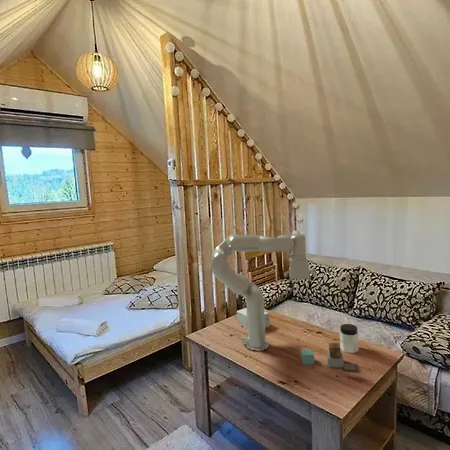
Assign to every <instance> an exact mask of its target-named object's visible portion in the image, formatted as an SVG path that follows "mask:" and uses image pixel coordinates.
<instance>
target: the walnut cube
mask: <svg viewBox="0 0 450 450" xmlns="http://www.w3.org/2000/svg"><path fill="white" fill-rule="evenodd" d="M328 350H329V351H328V352H330V358H341V352H342V349H341V348H340V342H328Z"/></svg>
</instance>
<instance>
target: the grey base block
mask: <svg viewBox="0 0 450 450" xmlns="http://www.w3.org/2000/svg"><path fill="white" fill-rule="evenodd" d="M326 352H327V353H326V355H327V366H328V368H342V367H344V363H345V362H344V356H343V355H344V354H343V351H341V358H330V352H329V351H326Z"/></svg>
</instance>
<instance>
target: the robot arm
mask: <svg viewBox="0 0 450 450" xmlns="http://www.w3.org/2000/svg"><path fill="white" fill-rule="evenodd" d="M306 243H307V242H306V236H305V235H304V234H302V233H301V234H300V233H299V234H298V233H297V234H296V233H295V234H281V235H278V236H277V237H270V236H264V235H261V234H251V235H250V234H241V235H239V234H238V233H231V234H230V235H228V236H227V238H225V239H224V240H223V241H222V242H221V243H219V245H218V246H217V247H215V248H214V249H213V251H212V254H211V262H210V263H211V265H210V268H211V272H212V274H213V276H214V277H215V278H216V279H217V280H218V281H220V282H221V283H222V284H223V285H224V286H225V287H227V288H228V289H229V290H230V291H232V292H233V293H234V294H235V295H237V296H238V295H239V296H242V297H243V298H244V299H245V304H246V308H247V325H248V330H247V336H246V337H244V336H241V337H240V341H241V342H242V343H245V347H246V346H247V347H248V348H249V349H251V350H250V351H252V350H262V351H265V350H267V349H268V348H269V347H270V342H269V341H268V340H267V338H266V337H267V336H266V335H267V334H266V329H265V317H264V311H265V297H264V294H263V292H262V291H261V289H260V288H259V287H258V285H256V284H255V283H254V282H253V281H252V280H250V279H249V278H247V277H246V276H245V275H243V274H242V273H236V272H235V271H234V270H233V269H231V268H230V267H229V266H228V261H229V257H230V256H231V255H232V254H233V253H234V252H270V253H276V252H277V253H287V252H290V251H291V254H290V255H288V258H289V259H290V261H289V269H288V270H287V271H285V272H283V276H284V278H285V279H286V280H287V281H288V286H289V288H290V290H292V289H293V280H308V290H311V288H312V281H314V279H315V278H316V276H317V272H315V271H313V270H311V269H310V267H309V266H310V265H309V264H310V263H309V261H308V259H307V249H306V248H307V246H306ZM310 274H311V275H312V276H310ZM247 347H246V348H247ZM248 348H247V349H248ZM249 349H248V350H249ZM264 349H265V350H264Z"/></svg>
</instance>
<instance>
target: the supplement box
mask: <svg viewBox="0 0 450 450" xmlns="http://www.w3.org/2000/svg"><path fill="white" fill-rule="evenodd" d="M264 317H265V327H267V326H270V327H271V325H270V323H271V322H270V313H269V312H267V311H266V310H264ZM236 318H237V319H236V321H237V324H238V323H239V324H241V325H243V326H245V327H246V328H248V325H247V307H245V308H242V309H239V310H237V311H236Z"/></svg>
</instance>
